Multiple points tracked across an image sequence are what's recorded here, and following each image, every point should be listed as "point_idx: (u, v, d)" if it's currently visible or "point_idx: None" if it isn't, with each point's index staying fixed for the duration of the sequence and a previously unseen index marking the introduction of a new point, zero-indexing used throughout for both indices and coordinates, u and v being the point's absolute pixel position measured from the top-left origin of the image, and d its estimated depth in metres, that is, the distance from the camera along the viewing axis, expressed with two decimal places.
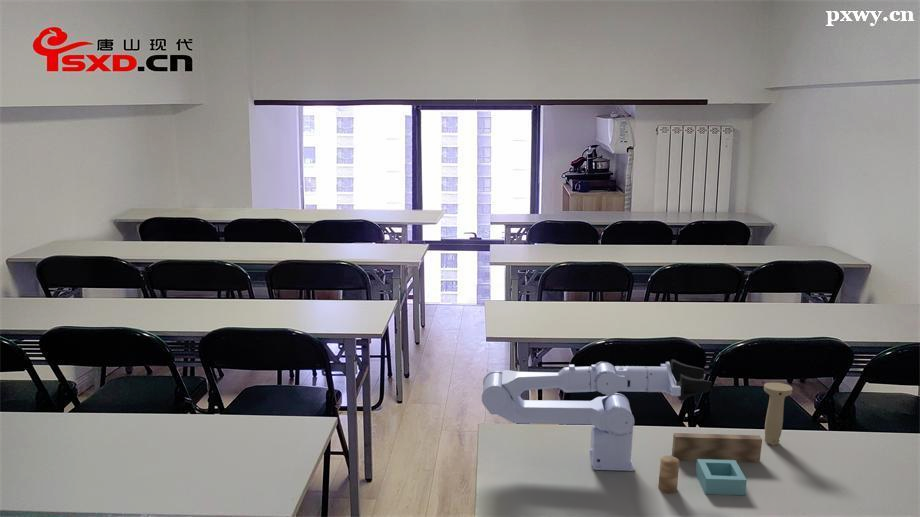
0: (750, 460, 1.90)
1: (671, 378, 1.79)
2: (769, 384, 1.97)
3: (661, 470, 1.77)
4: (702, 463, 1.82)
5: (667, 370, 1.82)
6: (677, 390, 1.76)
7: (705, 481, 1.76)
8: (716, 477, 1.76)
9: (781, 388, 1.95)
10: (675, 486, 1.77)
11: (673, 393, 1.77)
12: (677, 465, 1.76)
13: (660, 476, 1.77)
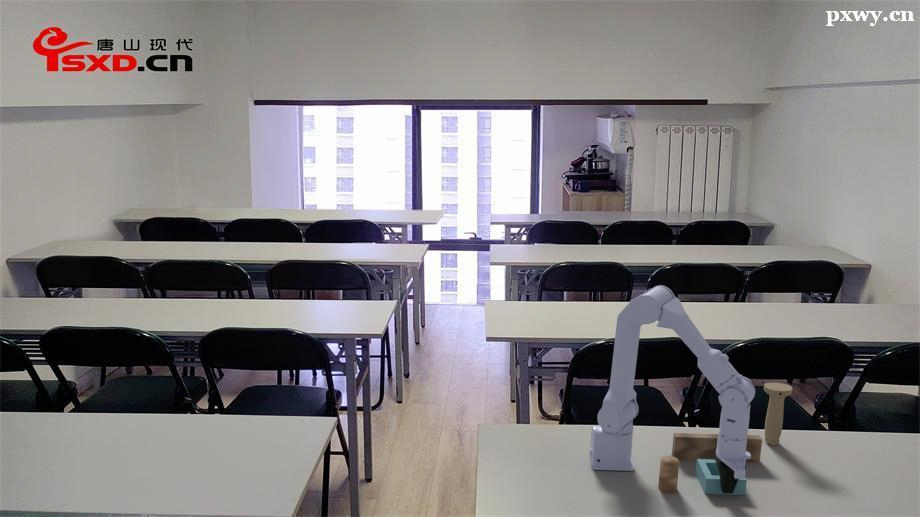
0: (750, 460, 1.90)
1: None
2: (769, 384, 1.97)
3: (661, 470, 1.77)
4: (702, 463, 1.82)
5: (745, 456, 1.71)
6: (741, 475, 1.66)
7: (705, 481, 1.76)
8: (716, 477, 1.76)
9: (781, 388, 1.95)
10: (675, 486, 1.77)
11: (738, 472, 1.66)
12: (677, 465, 1.76)
13: (660, 476, 1.77)
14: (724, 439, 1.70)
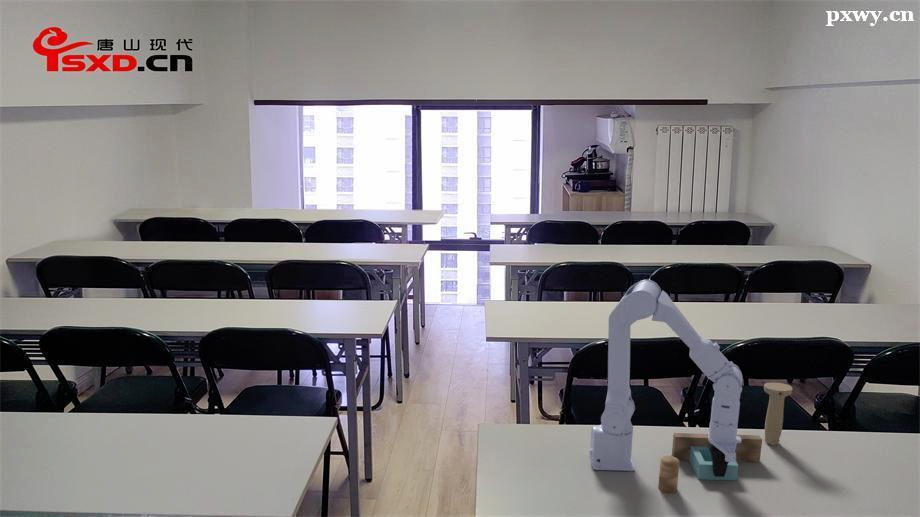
0: (750, 460, 1.90)
1: (735, 448, 1.75)
2: (769, 384, 1.97)
3: (661, 470, 1.77)
4: (696, 450, 1.88)
5: (736, 441, 1.78)
6: (732, 458, 1.72)
7: (698, 467, 1.82)
8: (709, 463, 1.82)
9: (781, 388, 1.95)
10: (675, 486, 1.77)
11: (729, 455, 1.72)
12: (677, 465, 1.76)
13: (660, 476, 1.77)
14: (715, 424, 1.77)
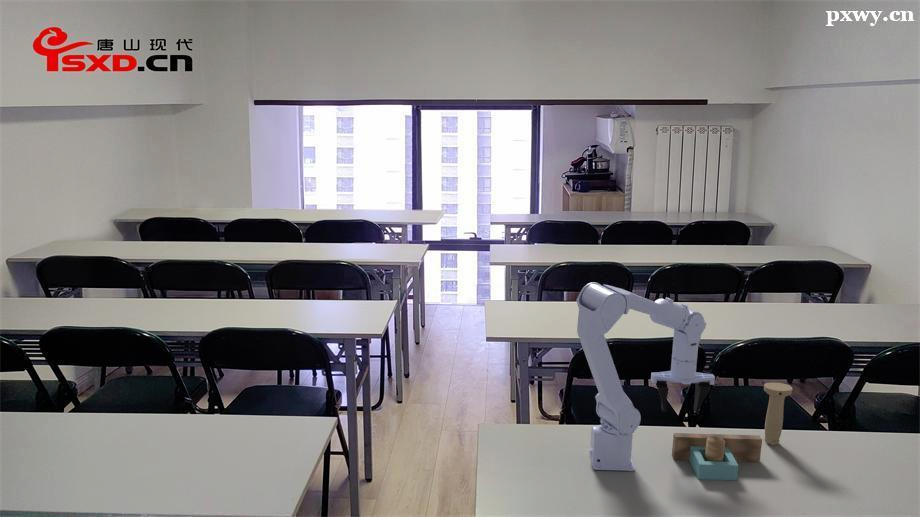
0: (750, 460, 1.90)
1: (667, 379, 1.90)
2: (769, 384, 1.97)
3: (707, 450, 1.84)
4: (696, 450, 1.88)
5: (679, 379, 1.89)
6: (651, 379, 1.92)
7: (698, 467, 1.82)
8: (709, 463, 1.82)
9: (781, 388, 1.95)
10: None
11: (651, 374, 1.93)
12: (723, 445, 1.83)
13: (706, 455, 1.85)
14: None
